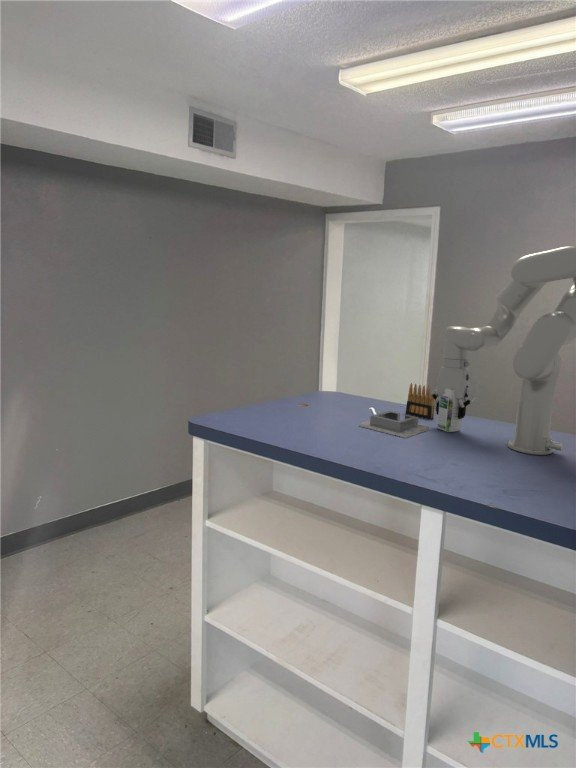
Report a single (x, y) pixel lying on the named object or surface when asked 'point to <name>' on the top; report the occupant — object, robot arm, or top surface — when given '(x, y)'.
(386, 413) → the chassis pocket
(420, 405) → the ammunition clip
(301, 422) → the top surface
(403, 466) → the top surface
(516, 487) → the top surface
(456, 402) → the syrup box
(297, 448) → the top surface
